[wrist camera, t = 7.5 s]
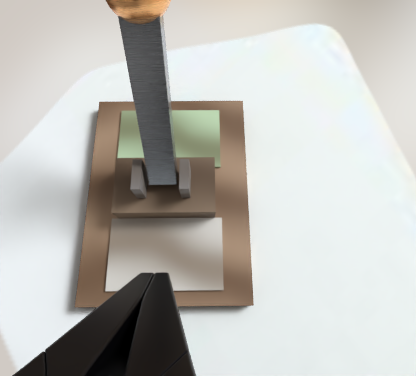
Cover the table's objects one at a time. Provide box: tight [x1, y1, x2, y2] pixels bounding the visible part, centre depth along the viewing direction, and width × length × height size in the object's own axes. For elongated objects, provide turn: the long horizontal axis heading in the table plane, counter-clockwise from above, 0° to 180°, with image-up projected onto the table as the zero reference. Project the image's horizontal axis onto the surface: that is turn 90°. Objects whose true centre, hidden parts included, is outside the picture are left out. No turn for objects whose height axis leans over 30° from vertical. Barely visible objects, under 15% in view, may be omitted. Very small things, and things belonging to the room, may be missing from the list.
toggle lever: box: [106, 0, 178, 185], centre depth 16 cm, size 3×3×12 cm
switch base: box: [75, 101, 253, 307], centre depth 21 cm, size 16×12×5 cm
